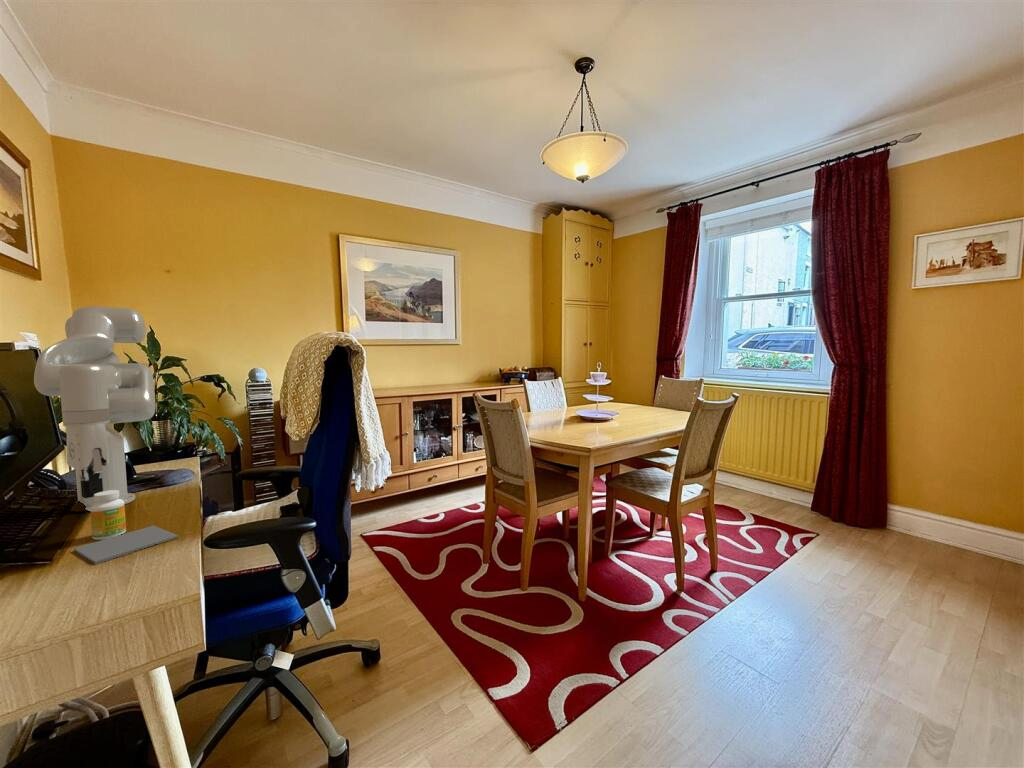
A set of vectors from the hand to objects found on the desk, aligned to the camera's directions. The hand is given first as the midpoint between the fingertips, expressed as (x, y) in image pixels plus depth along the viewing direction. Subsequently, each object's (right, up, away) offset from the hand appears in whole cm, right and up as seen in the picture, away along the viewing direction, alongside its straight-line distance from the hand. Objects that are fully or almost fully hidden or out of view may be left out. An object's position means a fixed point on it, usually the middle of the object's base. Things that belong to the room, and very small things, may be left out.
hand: (92, 495), depth 94 cm
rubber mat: (+17, -8, -9) cm, 20 cm away
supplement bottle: (+8, -8, -4) cm, 12 cm away
